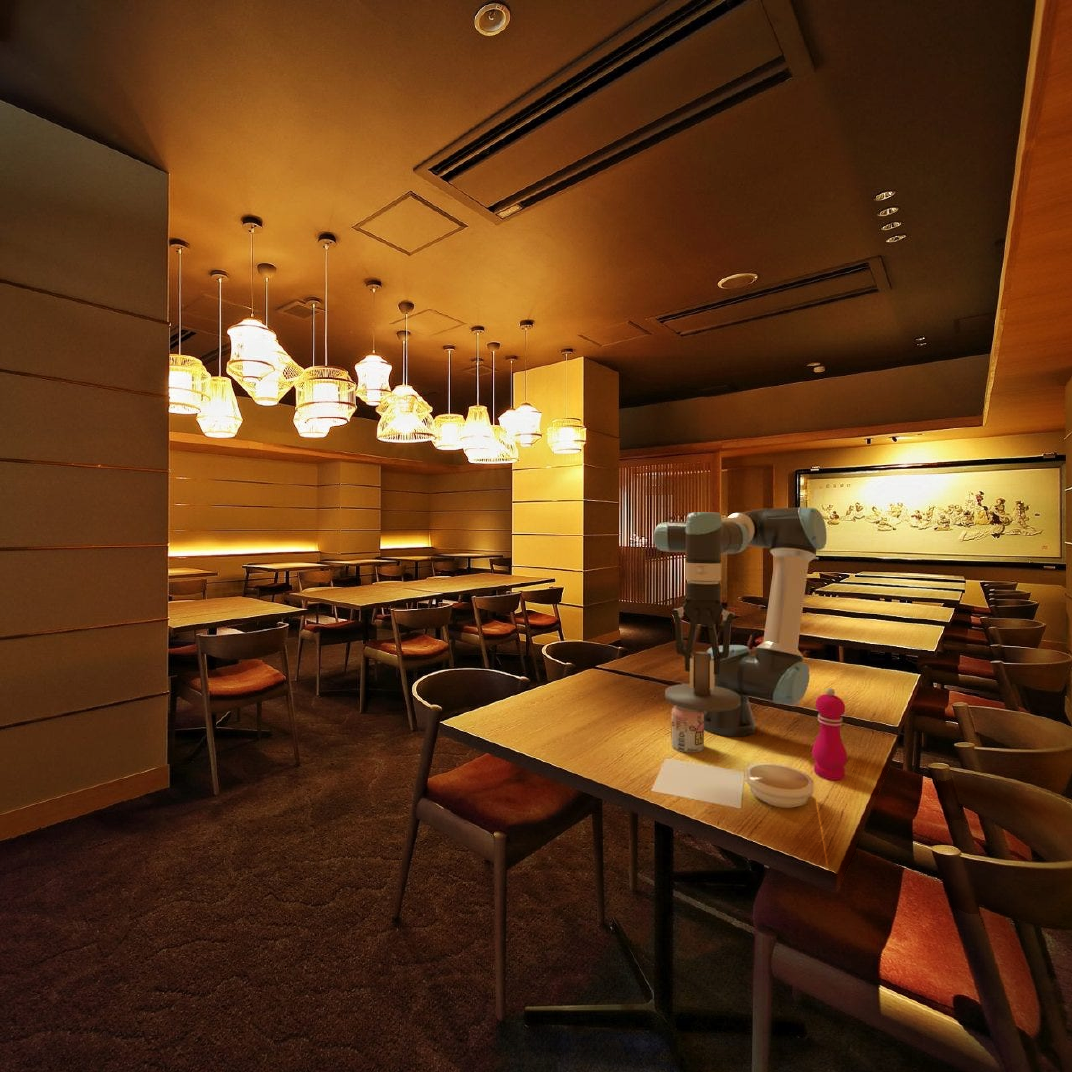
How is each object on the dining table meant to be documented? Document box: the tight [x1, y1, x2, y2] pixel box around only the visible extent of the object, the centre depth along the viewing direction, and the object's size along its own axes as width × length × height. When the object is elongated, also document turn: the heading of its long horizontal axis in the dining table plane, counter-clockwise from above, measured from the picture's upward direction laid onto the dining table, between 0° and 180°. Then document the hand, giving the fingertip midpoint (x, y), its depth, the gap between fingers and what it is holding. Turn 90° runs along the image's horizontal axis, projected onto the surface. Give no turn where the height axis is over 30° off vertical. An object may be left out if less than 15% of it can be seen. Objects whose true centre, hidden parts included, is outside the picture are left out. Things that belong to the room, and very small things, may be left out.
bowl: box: [744, 762, 815, 809], centre depth 113 cm, size 13×13×5 cm
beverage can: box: [670, 704, 707, 754], centre depth 139 cm, size 9×8×12 cm
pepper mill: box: [811, 687, 849, 781], centre depth 125 cm, size 7×7×20 cm
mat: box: [650, 758, 745, 810], centre depth 120 cm, size 18×18×1 cm
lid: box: [664, 651, 741, 712], centre depth 119 cm, size 16×16×10 cm
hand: (702, 687), depth 119 cm, fingers closed on lid, 3 cm apart
